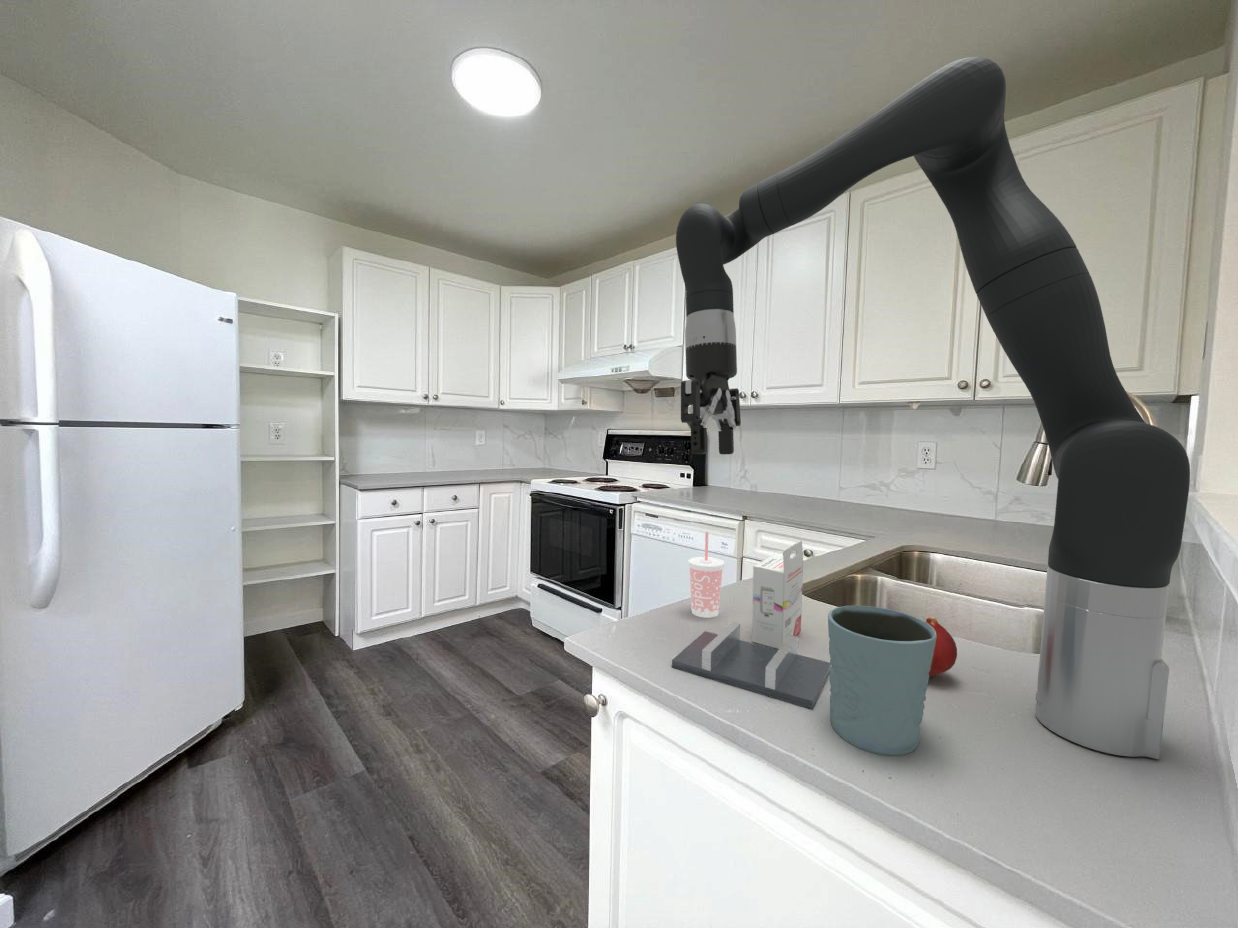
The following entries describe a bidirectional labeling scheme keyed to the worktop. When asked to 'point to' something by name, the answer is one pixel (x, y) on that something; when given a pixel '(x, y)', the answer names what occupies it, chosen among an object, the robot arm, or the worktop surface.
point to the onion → (942, 649)
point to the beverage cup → (705, 584)
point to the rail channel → (756, 666)
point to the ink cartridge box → (777, 597)
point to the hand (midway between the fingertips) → (713, 454)
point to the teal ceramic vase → (878, 677)
